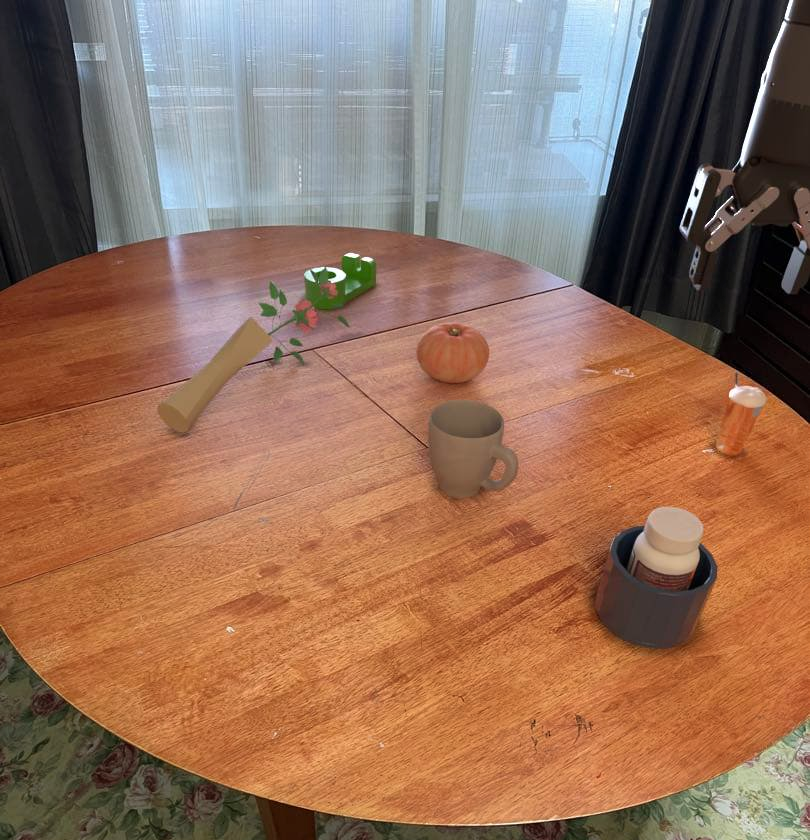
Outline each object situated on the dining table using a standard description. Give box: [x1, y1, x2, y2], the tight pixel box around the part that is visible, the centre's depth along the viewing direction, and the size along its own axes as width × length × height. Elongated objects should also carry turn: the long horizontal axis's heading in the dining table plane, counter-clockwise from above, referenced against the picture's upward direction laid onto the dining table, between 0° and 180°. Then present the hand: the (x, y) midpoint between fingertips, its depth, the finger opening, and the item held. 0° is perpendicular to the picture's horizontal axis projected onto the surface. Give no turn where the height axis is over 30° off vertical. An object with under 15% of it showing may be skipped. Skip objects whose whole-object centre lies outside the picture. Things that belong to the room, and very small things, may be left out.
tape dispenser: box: [304, 252, 377, 310], centre depth 136 cm, size 15×7×5 cm, turn 149°
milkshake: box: [715, 372, 767, 456], centre depth 101 cm, size 4×5×10 cm
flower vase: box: [156, 266, 351, 434], centre depth 110 cm, size 12×12×35 cm
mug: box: [427, 399, 519, 499], centre depth 91 cm, size 12×9×10 cm
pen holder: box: [594, 525, 719, 650], centre depth 77 cm, size 10×10×8 cm
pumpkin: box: [416, 322, 490, 384], centre depth 113 cm, size 11×11×8 cm
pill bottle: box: [626, 506, 705, 591], centre depth 75 cm, size 6×6×11 cm
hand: (743, 289), depth 71 cm, fingers open, 8 cm apart
